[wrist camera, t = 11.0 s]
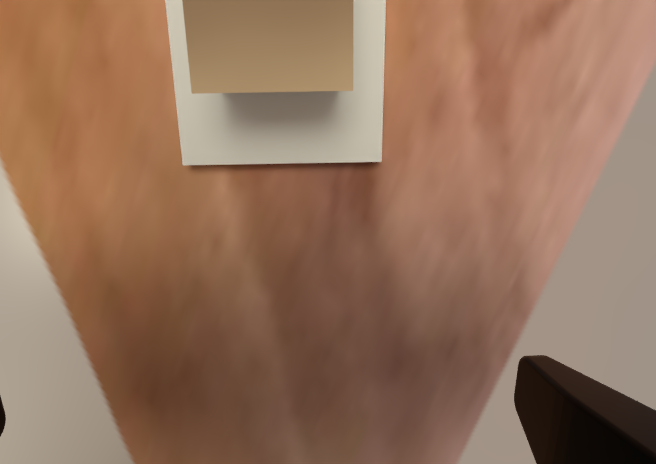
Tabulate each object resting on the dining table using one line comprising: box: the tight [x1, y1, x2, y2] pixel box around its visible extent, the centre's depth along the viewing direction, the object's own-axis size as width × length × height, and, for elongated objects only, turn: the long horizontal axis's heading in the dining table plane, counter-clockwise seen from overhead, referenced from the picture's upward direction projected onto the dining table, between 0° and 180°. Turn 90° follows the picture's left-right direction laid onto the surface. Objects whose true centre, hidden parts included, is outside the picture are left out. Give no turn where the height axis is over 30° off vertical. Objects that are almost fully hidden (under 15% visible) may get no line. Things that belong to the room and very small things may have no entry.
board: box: [165, 0, 386, 165], centre depth 16 cm, size 10×7×1 cm
